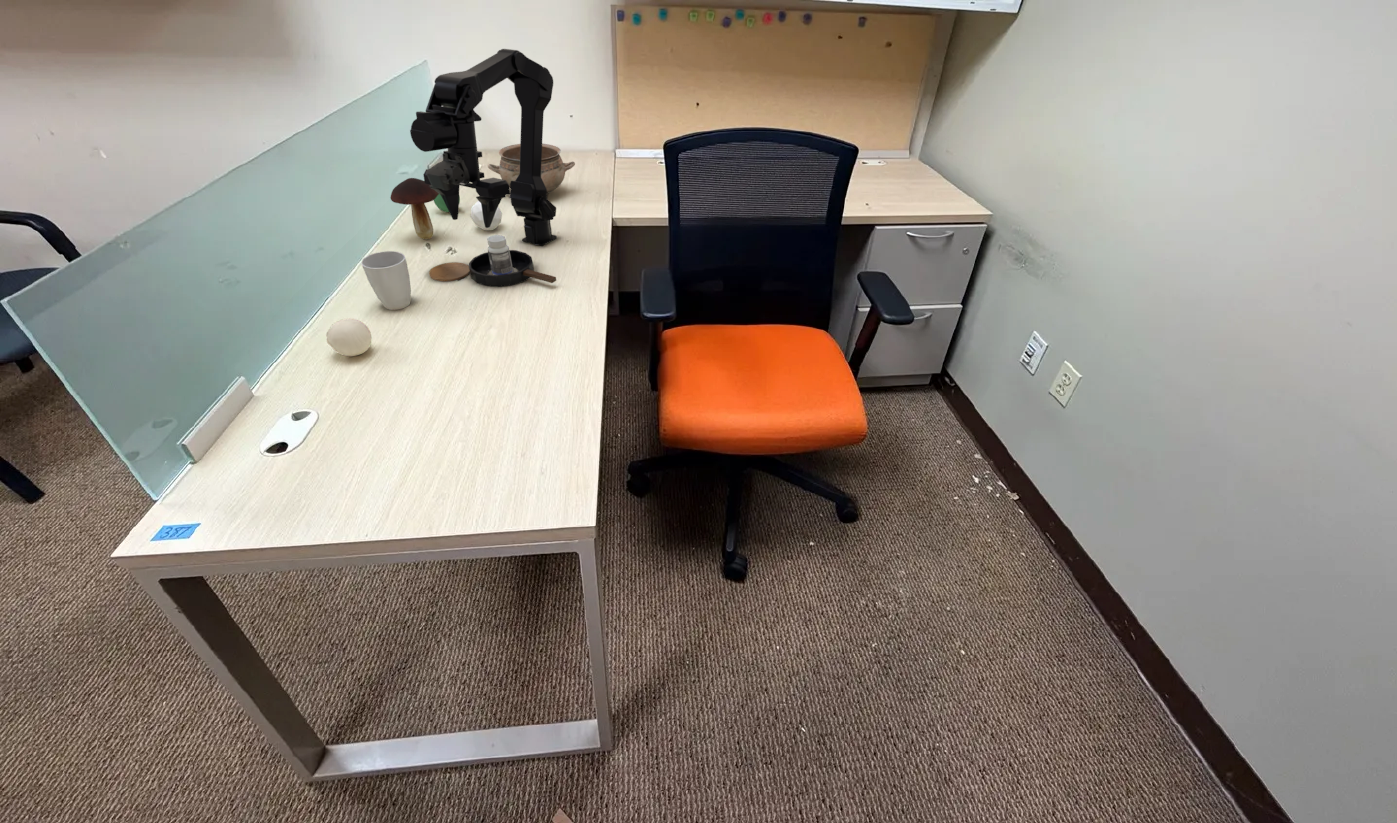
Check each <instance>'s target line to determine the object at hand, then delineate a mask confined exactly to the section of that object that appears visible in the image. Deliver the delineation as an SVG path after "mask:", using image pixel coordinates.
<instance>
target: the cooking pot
mask: <svg viewBox="0 0 1397 823" xmlns="http://www.w3.org/2000/svg"><path fill="white" fill-rule="evenodd" d="M560 154H561V149H560V147H558V146H557V145H553V144H548V143H542V160H541V178H542V180H543V182H544V185H545V187H546V189H547V195H548V194H550V193H551V192H553V191H554V190H556V189H557V188H558V187H559V186H561V184H562V183H563V181H564V180H565V176H566V172H568V171H569V170H571V169H572V168H574V167H575V165H576V163H575V161H569V162H564V161H563V158H562V157H561V155H560ZM498 155H499V156H500V160H499V165H495V164H492V163H488V164H487V168H488V169H489V171H490V170H491V171H492V172H494V173H495V174H498V175H499V176H500V179H502V180H506V181H507V182H508V183H509V187H510V183H511V181H515V180H516V178H517V177H518V175H519V172H520V143H516V144H515V143H514V144H511V145H507V146H504V147H502V148H501V149H499V150H498Z"/></svg>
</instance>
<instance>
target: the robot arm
mask: <svg viewBox="0 0 1397 823" xmlns="http://www.w3.org/2000/svg"><path fill="white" fill-rule="evenodd" d="M506 79H508V81H510V82H511V83H513V89H514V95H515V97H516V99H517V102H518V103H519V105H520V138H519V140H520V143H519V144H520V172H519V175H518V177H517V178H516V180H515V181H511V183H510V187H509V183H508V182H507V181H506V180H502V178H497V177H489V178H488V177H487V178H485V172H482V171H480V163H479V158H483V151H479V150H478V145H477V144H478V142H477V135H476V134H477V133H476V126H475V125H476V124H475V122H481V121H482V116H480V115H479V114H478V113H477V112H476V111H475V108H476V107H477V106H479V105H480V103H481V102H482V101H483V98H484V97H483V96H484V94H485V93H486V92H487V91H489V90H490V89H492V88H493V87H495V86H496V85H498V84H499V83H502V82H504V81H505V80H506ZM553 89H554V77H553V75H552V74H551V72H550V70H549V69H548V68H547V67H545V66H542V64H540V63H538V62H536V61H534V60H533V59H531V58H529V57H528V56H526V55H525V54H524V53H523V52H521V51H520V50H518V49H512V48H511V49H510V48H501V49H499V50H498V51H497V52H496V53H495V54H493V55H491V56H490V57H488V58H486V59H484V60H482V61H480V62H479V63H477V64H475V65H473V66H472V67H470V68H469V69H467V70H463V71H462V70H461V71H452V72H447V73H442V74H439V75H437V76H436V77H435V79H434V85H433V88H432V91H431V93H430V97H429V99H428V101H427V102H428V103H427V105H426V108H425V111H421V110H420V111H416V112H415V116H416V119H414V120H413V121H412V123H411V126H410V129H409V133H410V137H411V140H412V142H413V144H414V145H415V147H416V148H417V149H419V150H420V151H421V152H423V153H424V152H425V153H427V152H433V151H434V152H435V151H439V150H440V151H441V150H443V152H442V161H439V162H437V163H435V165H432V166H431V167H430V168H427V169H425V171H424V173H423V181H424V182H425V184H429V185H431V186H430V188H431V189H434V190H435V191H436V192H438V193H439V194H440V195H441V197H442V199H443V200H444V202H445V204H446V206H447V208H448V211H449V212H448V213H449V215H450V217H451V219H452V220H454V221H456V220H458V219H459V209H460V203H459V196H460V186H461V187H466V188H471V189H474V190H475V192H476V193H477V196H475V198H476V199H477V201H479V202H480V203H481V206H482V213H483V220H484V224H485V227H486V228H489V227H490V226H491V223H492V220H493V218H494V215H495V212H496V210H497V207H498V206H500V203H501V201H502V199H505V198H506V197H507V195H509V196H508V198H509V199H510V205H511V207H512V208H513V210H514V212H515V214H516V216H517V217H521V218H523V224H524V225H523V229H524V236H525V237H522V239H521V241H522V242H525V243H528V244H532V245H535V246H540V247H543V246H545V245H547V244H548V243H549V244H550V242H552V241H555V239H557V238H558V236H557V235H555V234H553V233H552V232H553V231H552V224H551V221H553V220H554V218H555V217H556V216H557V207H556V206H555V205H554V204H553V203H552V202H551V201H550V199H548V194H547V189H546V187H545V185H544V182H543V180H542V178H541V160H542V144H543V137H544V136H543V134H544V133H543V132H544V112H545V110H546V108H547V107H548V105H549V103H550V102H551V100H552V95H553Z"/></svg>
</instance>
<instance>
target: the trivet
mask: <svg viewBox="0 0 1397 823" xmlns="http://www.w3.org/2000/svg"><path fill="white" fill-rule="evenodd" d="M428 275H429V277H430V279H432V280H434V281H436V282H437V281H438V282H455V281H459V280H461V279H465V278H466V277H468V276H469V275H471V274H470V270H469V264H466V263H464V262H455V261H453V262H446V263H441V264H438V265H435V266H433V267H432V268H431V269H430V270H429V271H428Z"/></svg>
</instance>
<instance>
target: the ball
mask: <svg viewBox="0 0 1397 823" xmlns="http://www.w3.org/2000/svg"><path fill="white" fill-rule="evenodd" d="M499 206H500V205H498V207H497V210H496V212H495V215H494V218H493V220H492V223H491V226H490V227H489V228H486V227H485V224H484V220H483V213H482V206H481V203H480V202H479V201H478V200H477V201H476V202H475V203H474V204H473V205H472V206H471V208H470V209H471V210H470V218H471V220H472V222H473V224H474V225H475V226H476V227H478V228H479V229H481V230H483V231H492V230H496V228H497V227H499V226H500V224H501V223H502V218H503V213H502V210H501V208H500V207H499Z"/></svg>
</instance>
